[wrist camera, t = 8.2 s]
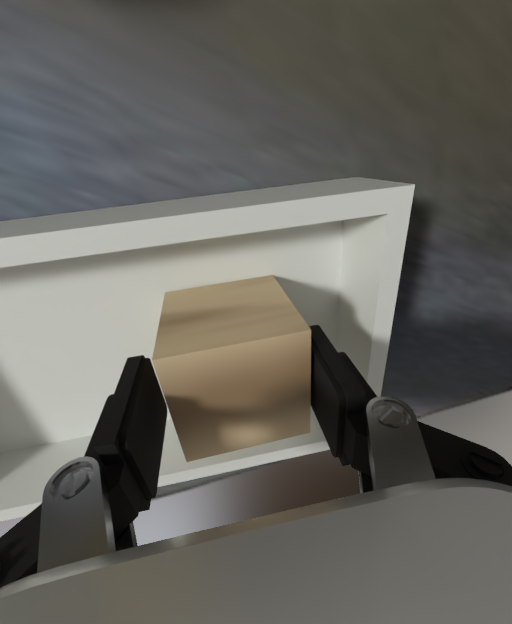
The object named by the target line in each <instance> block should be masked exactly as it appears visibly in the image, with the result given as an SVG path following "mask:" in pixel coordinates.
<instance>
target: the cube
mask: <svg viewBox="0 0 512 624" xmlns="http://www.w3.org/2000/svg"><path fill="white" fill-rule="evenodd" d="M152 362H153V365H154V368H155V371H156V374H157V377H158V380H159V383H160V386H161V389H162V392H163V394H164V397H165V400H166V403H167V406H168V409H169V412H170V415H171V418H172V421H173V424H174V427H175V430H176V433H177V436H178V439H179V442H180V445H181V447H182V450H183V453H184V456H185V459H186V462H190V461H194V460H198V459H203V458H207V457H211V456H215V455H219V454H223V453H228V452H232V451H236V450H240V449H244V448H248V447H253V446H257V445H261V444H265V443H269V442H274V441H278V440H282V439H286V438H290V437H294V436H299V435H303V434H307V433H310V413H311V329H310V327H309V326H308V325H307V323H306V322H305V320H304V319H303V318H302V316H301V315H300V313H299V312H298V310H297V309H296V308H295V306H294V305H293V303H292V302H291V300H290V299H289V298H288V296H287V295H286V293H285V292H284V290H283V289H282V288H281V286H280V285H279V283H278V282H277V280H276V279H275V278H274V276H273V275H269V276H263V277H257V278H250V279H244V280H238V281H232V282H225V283H219V284H213V285H207V286H200V287H194V288H188V289H182V290H176V291H169V292H165V295H164V300H163V305H162V310H161V315H160V321H159V326H158V331H157V336H156V341H155V346H154V352H153V357H152Z"/></svg>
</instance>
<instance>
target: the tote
mask: <svg viewBox="0 0 512 624" xmlns="http://www.w3.org/2000/svg"><path fill="white" fill-rule="evenodd" d="M414 188H415V184H408V183H400V182H392V181H384V180H376V179H369V178H361V177H352V178H344V179H336V180H328V181H320V182H312V183H304V184H296V185H288V186H280V187H272V188H264V189H256V190H248V191H240V192H232V193H224V194H216V195H208V196H200V197H192V198H184V199H176V200H168V201H160V202H152V203H144V204H136V205H128V206H120V207H112V208H104V209H96V210H88V211H79V212H71V213H63V214H55V215H47V216H39V217H31V218H23V219H15V220H7V221H0V521H5V520H10V519H14V518H19V517H23V516H27V515H28V514H29V513H31V512H32V511H33V510H34V509H35V508H37V507H38V506H39V505H40V504H42V497H43V491H44V488H45V486H46V484H47V482H48V480H49V479H50V478H51V476H52V475H53V474H54V473H55V472H56V471H57V470H58V469H59V468H61V467H62V466H63V465H65V464H66V463H68V462H70V461H71V460H74V459H77V458H79V457H84V455H85V453H86V450H87V448H88V445H89V442H90V440H91V437H92V435H93V432H94V430H95V427H96V425H97V422H98V420H99V417H100V415H101V412H102V410H103V407H104V405H105V402H106V400H107V398H108V396H109V395H111V394H114V392H115V390H116V387H117V384H118V382H119V379H120V376H121V374H122V371H123V368H124V366H125V363H126V360H127V358H129V357H134V356H140V355H144V357H145V358H150V360H151V363H152V366H153V368H154V365H153V362H152V357H153V352H154V346H155V341H156V336H157V331H158V326H159V321H160V315H161V310H162V305H163V300H164V295H165V292H169V291H176V290H182V289H188V288H194V287H200V286H207V285H213V284H219V283H225V282H232V281H238V280H244V279H250V278H257V277H263V276H269V275H273V276H274V278H275V279H276V280H277V282H278V283H279V285H280V286H281V288H282V289H283V290H284V292H285V293H286V295H287V296H288V298H289V299H290V300H291V302H292V303H293V305H294V306H295V308H296V309H297V310H298V312H299V313H300V315H301V316H302V318H303V319H304V320H305V322H306V323H307V325H308V326H312V325H319V326H320V327H321V329H322V330H323V332H324V333H325V335H326V336H327V337H328V339H329V340H330V342H331V343H332V345H333V346H334V348H335V349H336V350H337V352H345V353H346V354H347V356H348V357H349V358H350V360H351V361H352V362H353V364H354V365H355V367H356V368H357V369H358V371H359V372H360V373H361V375H362V376H363V377H364V379H365V380H366V382H367V383H368V384H369V386H370V387H371V388H372V390H373V391H374V393H375V394H376V395H377V397H379V396H381V391H382V385H383V378H384V372H385V366H386V360H387V354H388V348H389V342H390V335H391V329H392V323H393V317H394V311H395V305H396V299H397V292H398V286H399V280H400V274H401V268H402V262H403V256H404V249H405V243H406V237H407V231H408V225H409V219H410V213H411V207H412V200H413V194H414ZM154 371H155V368H154ZM155 374H156V371H155ZM156 377H157V374H156ZM157 380H158V377H157ZM158 382H159V380H158ZM159 385H160V383H159ZM160 388H161V386H160ZM161 391H162V389H161ZM162 394H163V392H162ZM163 397H164V394H163ZM164 399H165V397H164ZM165 402H166V400H165ZM166 405H167V403H166ZM329 449H330V448H329V446H328V443H327V441H326V439H325V436H324V434H323V432H322V430H321V427H320V425H319V423H318V420H317V418H316V416H315V413H314V411H313V409H312V407H311V413H310V433H307V434H303V435H299V436H294V437H290V438H286V439H282V440H278V441H274V442H269V443H265V444H261V445H257V446H253V447H248V448H244V449H240V450H236V451H232V452H228V453H223V454H219V455H215V456H211V457H207V458H203V459H198V460H194V461H190V462H186V459H185V456H184V453H183V450H182V447H181V445H180V442H179V439H178V436H177V433H176V430H175V427H174V424H173V421H172V418H171V415H170V412H169V409H168V406H167V421H166V428H165V435H164V443H163V450H162V457H161V464H160V472H159V479H158V486H157V487H160V486H165V485H169V484H174V483H179V482H183V481H188V480H192V479H197V478H201V477H206V476H210V475H215V474H220V473H224V472H229V471H233V470H238V469H242V468H247V467H252V466H256V465H261V464H265V463H270V462H274V461H279V460H284V459H288V458H293V457H297V456H302V455H306V454H311V453H316V452H320V451H325V450H329Z"/></svg>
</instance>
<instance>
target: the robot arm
mask: <svg viewBox="0 0 512 624" xmlns="http://www.w3.org/2000/svg"><path fill="white" fill-rule="evenodd" d="M309 327H310V329H311V407H312V409H313V411H314V413H315V416H316V418H317V420H318V423H319V425H320V427H321V430H322V432H323V434H324V436H325V439H326V441H327V443H328V446H329V448H330V450H331V452H332V455H333V456H334V457H339V459H340V461H341V464H342V466H345V465H349V464H350V465H351V467H352V468H354V469H356V470H358V471H359V482H360V492H361V494H357V495H352V496H348V497H344V498H340V499H335V500H331V501H326V502H322V503H318V504H313V505H309V506H305V507H300V508H296V509H292V510H287V511H283V512H279V513H275V514H270V515H266V516H262V517H258V518H253V519H249V520H245V521H241V522H237V523H232V524H228V525H224V526H220V527H216V528H211V529H207V530H203V531H199V532H194V533H190V534H186V535H182V536H178V537H174V538H170V539H165V540H161V541H157V542H153V543H149V544H145V545H141V546H137V540H136V535H135V530H134V526H133V520H134V519H135V518H136V517H137V516H138V513H139V512H140V511H145V510H149V508H150V502H151V498H155V496H156V493H157V486H158V479H159V472H160V464H161V457H162V450H163V443H164V435H165V428H166V421H167V405H166V402H165V399H164V397H163V394H162V391H161V388H160V385H159V382H158V380H157V377H156V374H155V371H154V368H153V366H152V363H151V360H150V358H145V357H144V355H140V356H134V357H129V358H127V360H126V363H125V366H124V368H123V371H122V374H121V376H120V379H119V382H118V384H117V387H116V390H115V392H114V394H111V395H109V396H108V398H107V400H106V402H105V405H104V407H103V410H102V412H101V415H100V417H99V420H98V422H97V425H96V427H95V430H94V432H93V435H92V437H91V440H90V442H89V445H88V448H87V450H86V453H85V455H84V457H79V458H77V459H74V460H71V461H70V462H68V463H66V464H65V465H63V466H62V467H61V468H59V469H58V470H57V471H56V472H55V473H54V474H53V475H52V476H51V478H50V479H49V480H48V482H47V484H46V486H45V488H44V491H43V497H42V504H40V505H39V506H38V507H37V508H35V509H34V510H33V511H32V512H31V513H29V514H28V515H27V516H26V517H25V518H23V519H22V520H21V521H20V522H19V523H17V524H16V525H15V526H14V527H13V528H11V529H10V530H9V531H8V532H7V533H6V534H4V535H3V536H2V537H1V538H0V624H512V466H511V465H510V464H509V463H508V462H507V461H506V460H505V459H504V458H503V457H501V456H500V455H499V454H497V453H496V452H494V451H492V450H490V449H488V448H486V447H484V446H481V445H479V444H476V443H473V442H471V441H468V440H466V439H463V438H460V437H458V436H455V435H452V434H450V433H447V432H444V431H442V430H439V429H436V428H434V427H431V426H429V425H426V424H423V423H421V422H418V421H417V419H416V416H415V414H414V412H413V410H412V409H411V408H410V407H409V406H408V405H407V404H406V403H404V402H403V401H401V400H399V399H396V398H394V397H389V396H379V397H377V395H376V394H375V393H374V391H373V390H372V388H371V387H370V386H369V384H368V383H367V382H366V380H365V379H364V377H363V376H362V375H361V373H360V372H359V371H358V369H357V368H356V367H355V365H354V364H353V362H352V361H351V360H350V358H349V357H348V356H347V354H346V353H345V352H337V350H336V349H335V348H334V346H333V345H332V343H331V342H330V340H329V339H328V337H327V336H326V335H325V333H324V332H323V330H322V329H321V327H320V326H319V325H312V326H309Z"/></svg>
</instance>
